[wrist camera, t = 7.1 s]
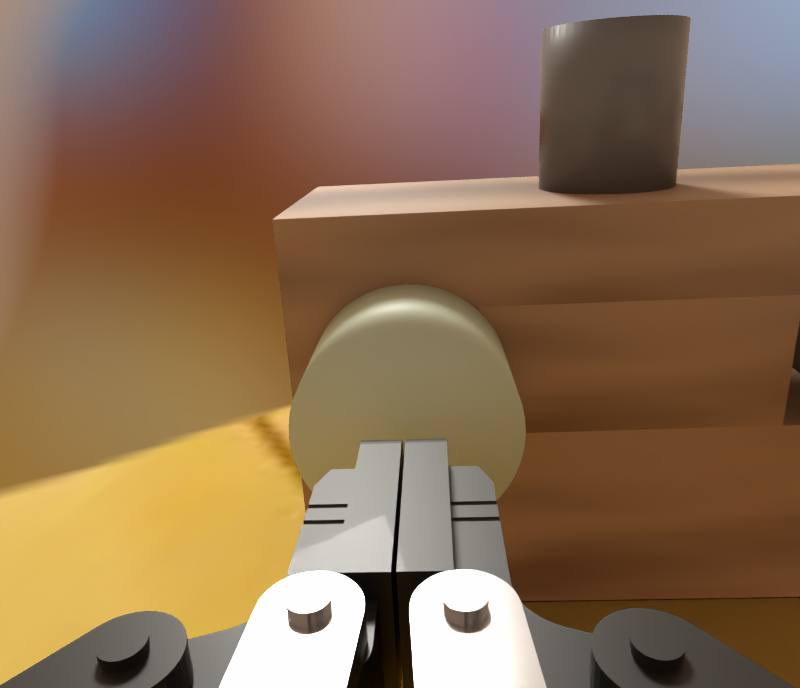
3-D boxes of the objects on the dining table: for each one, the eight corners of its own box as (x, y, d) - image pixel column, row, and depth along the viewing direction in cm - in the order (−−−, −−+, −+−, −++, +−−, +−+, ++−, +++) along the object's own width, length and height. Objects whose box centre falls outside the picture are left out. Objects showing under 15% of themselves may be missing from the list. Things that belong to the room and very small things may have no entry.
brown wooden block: (930, 594, 18) (1040, 184, 14) (316, 604, 19) (272, 219, 15) (794, 465, 25) (846, 161, 21) (344, 476, 25) (318, 186, 22)
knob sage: (524, 533, 14) (527, 318, 12) (301, 538, 14) (275, 327, 13) (480, 349, 25) (479, 221, 23) (354, 353, 25) (344, 227, 23)
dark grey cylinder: (706, 184, 17) (723, 16, 16) (604, 198, 16) (613, 13, 14) (605, 176, 20) (613, 34, 19) (512, 187, 19) (513, 34, 17)
